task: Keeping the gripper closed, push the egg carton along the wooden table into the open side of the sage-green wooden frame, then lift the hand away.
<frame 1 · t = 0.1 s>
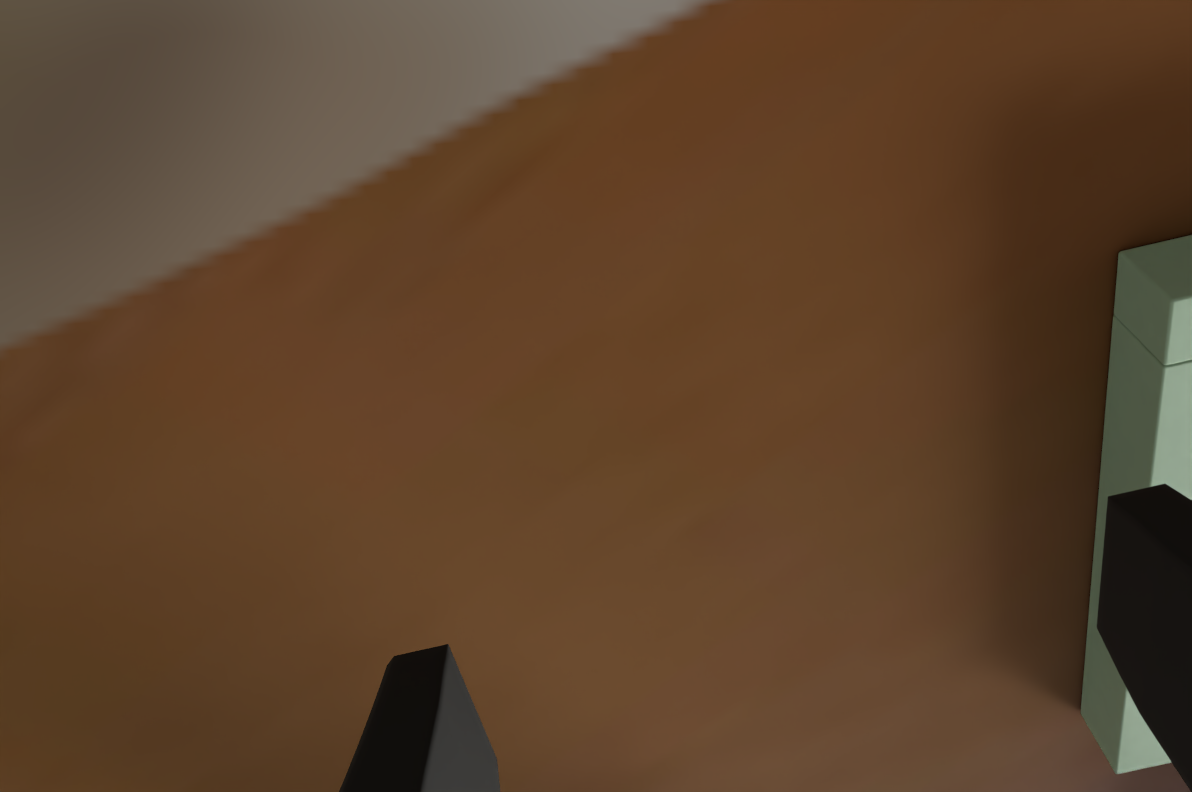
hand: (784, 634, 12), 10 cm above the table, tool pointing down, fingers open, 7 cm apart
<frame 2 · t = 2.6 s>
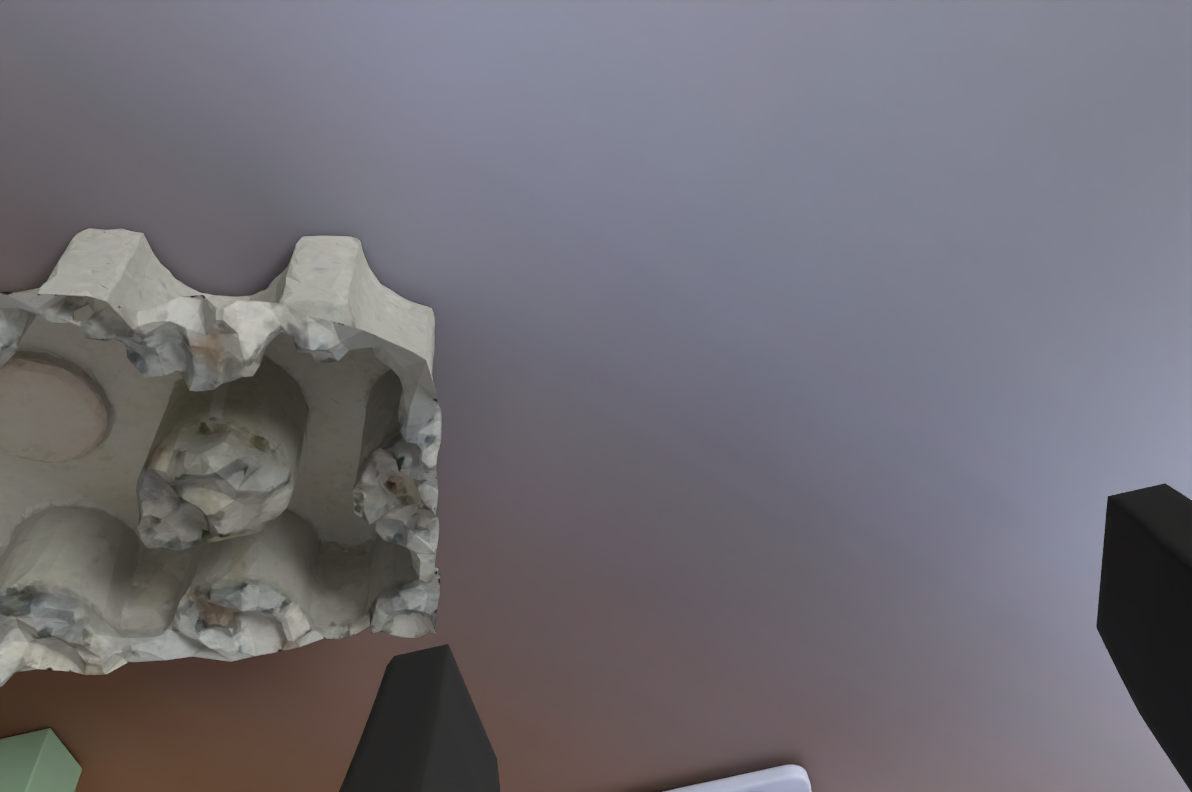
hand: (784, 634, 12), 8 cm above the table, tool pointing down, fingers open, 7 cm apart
egg carton: (144, 388, 19), on the table
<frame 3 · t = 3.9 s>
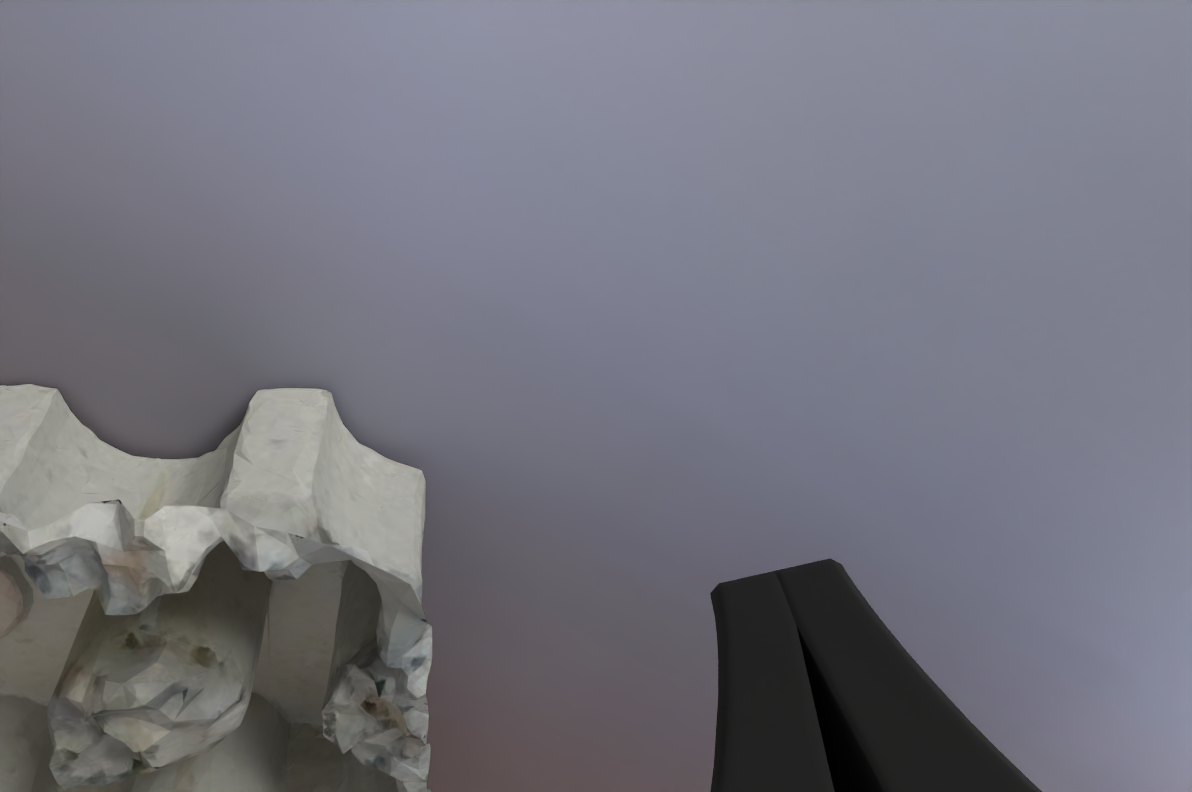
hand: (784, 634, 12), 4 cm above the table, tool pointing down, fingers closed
egg carton: (70, 559, 16), on the table
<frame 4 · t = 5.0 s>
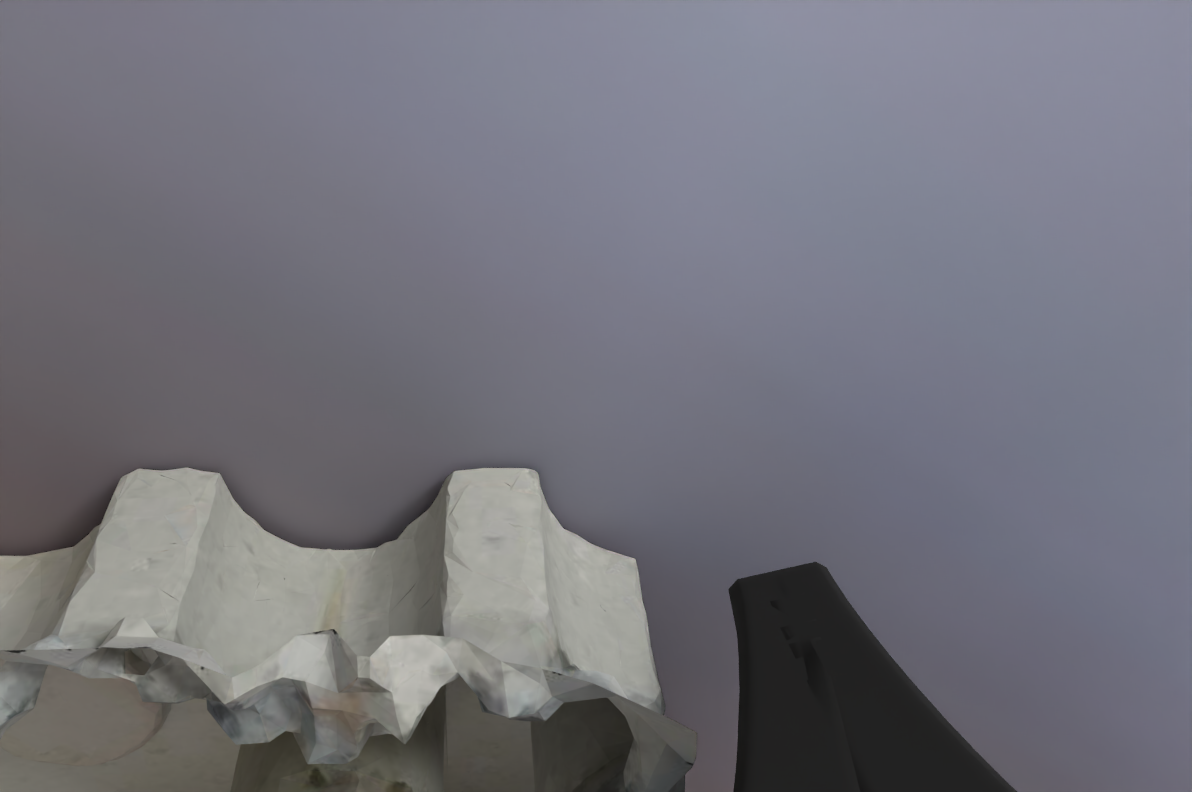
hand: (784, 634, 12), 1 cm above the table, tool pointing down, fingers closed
egg carton: (213, 660, 14), on the table, touching gripper
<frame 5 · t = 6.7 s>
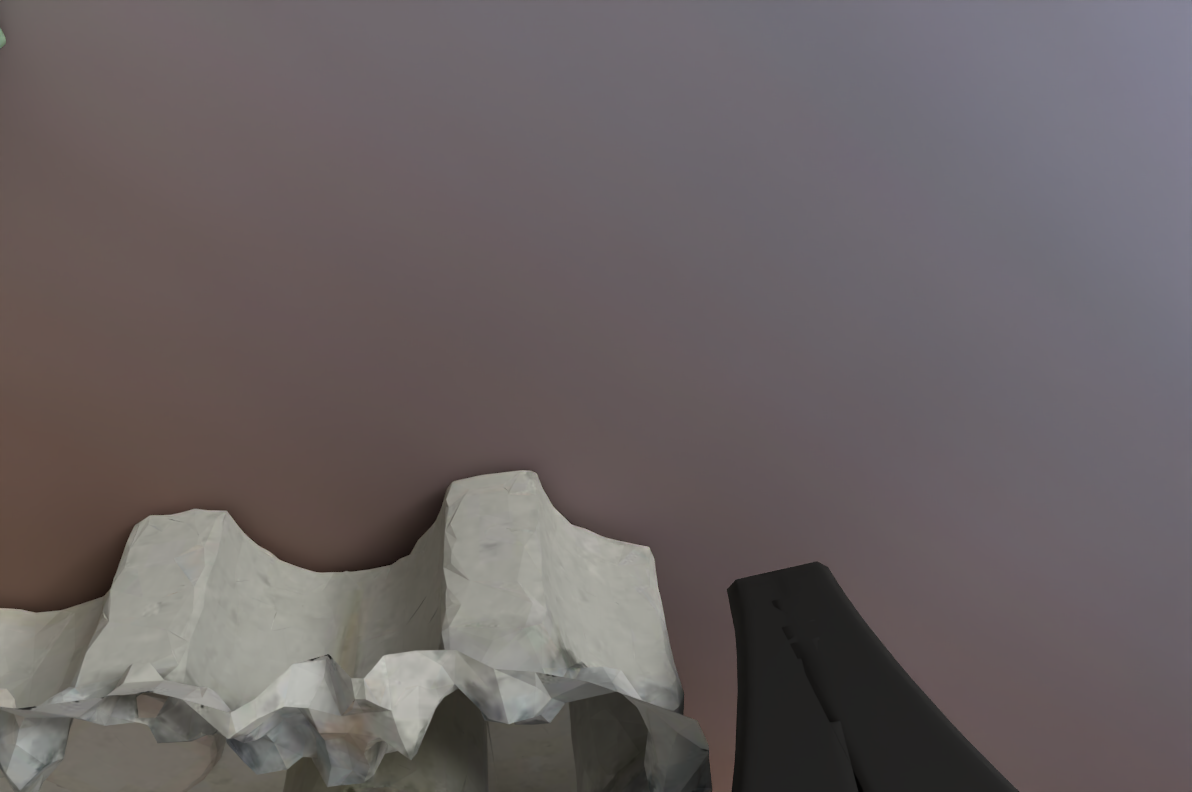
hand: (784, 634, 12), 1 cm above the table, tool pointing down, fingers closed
egg carton: (259, 689, 14), on the table, touching gripper
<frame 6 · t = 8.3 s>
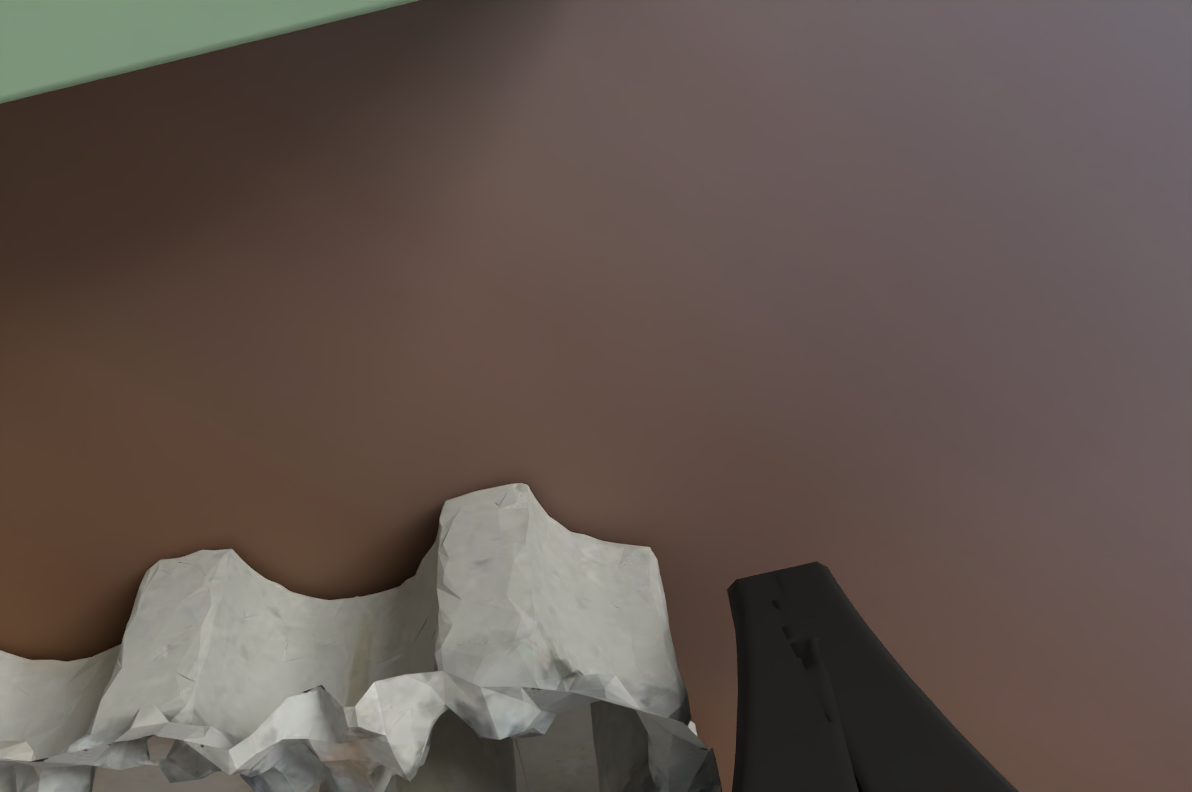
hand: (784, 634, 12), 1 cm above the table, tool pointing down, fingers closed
frame: (232, 665, 13), on the table
egg carton: (293, 716, 14), on the table, touching gripper
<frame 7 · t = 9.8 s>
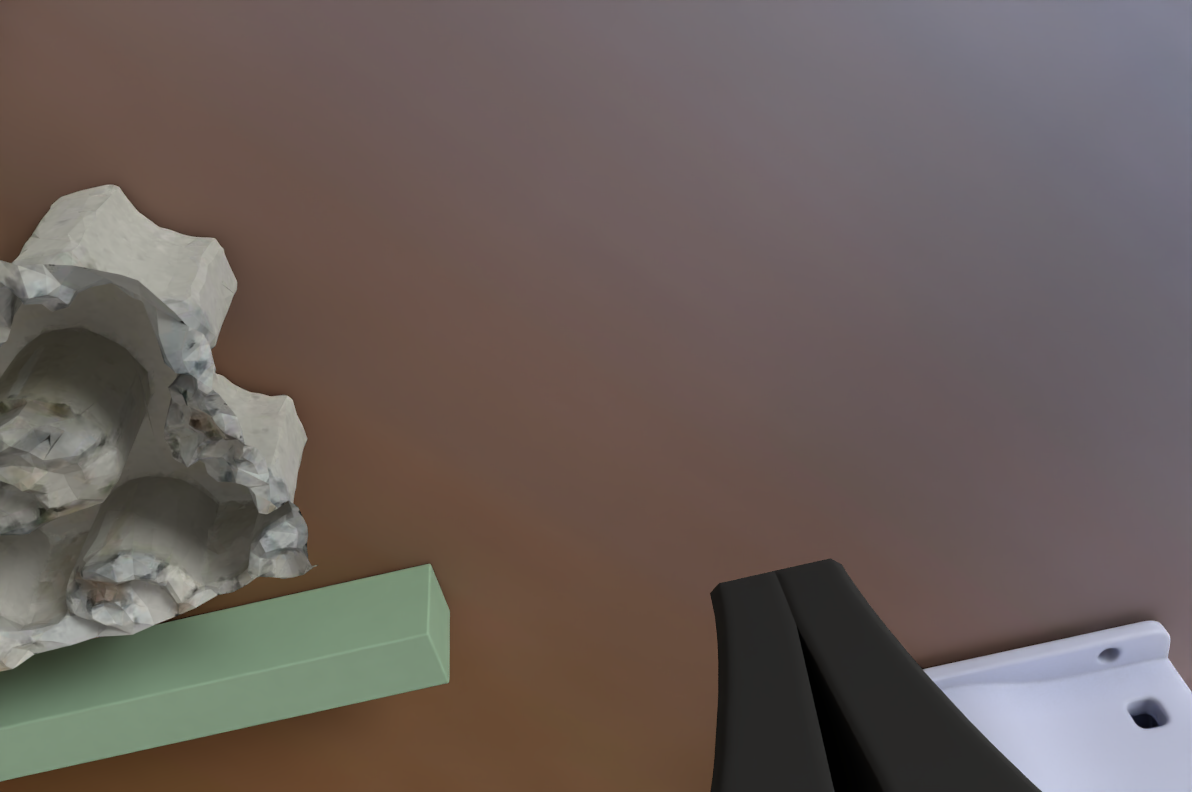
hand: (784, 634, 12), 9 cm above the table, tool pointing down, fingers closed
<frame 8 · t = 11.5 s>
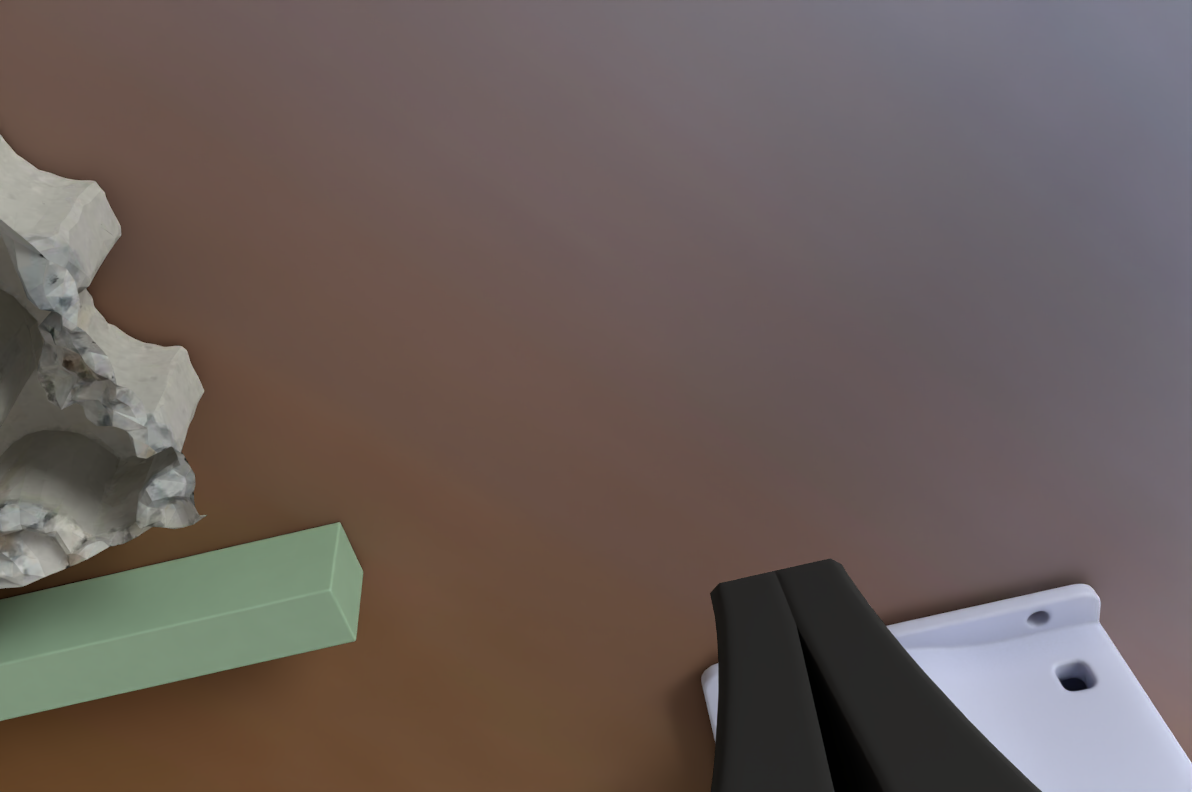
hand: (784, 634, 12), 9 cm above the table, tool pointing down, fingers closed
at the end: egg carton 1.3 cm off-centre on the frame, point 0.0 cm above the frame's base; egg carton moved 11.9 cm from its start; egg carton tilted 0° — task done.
